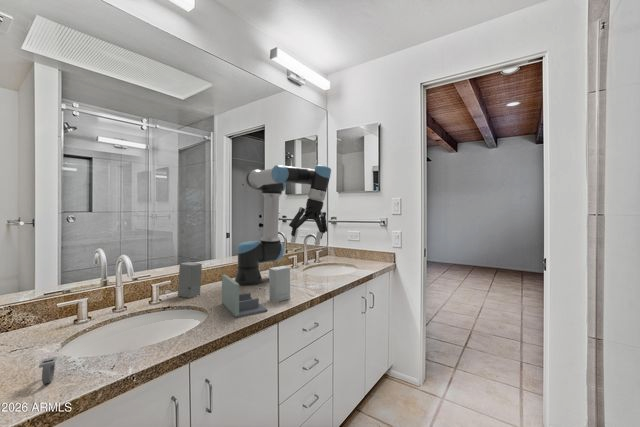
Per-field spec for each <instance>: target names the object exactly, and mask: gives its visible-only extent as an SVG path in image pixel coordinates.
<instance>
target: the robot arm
mask: <svg viewBox="0 0 640 427" xmlns="http://www.w3.org/2000/svg"><path fill="white" fill-rule="evenodd" d="M331 174H332V169H331V167H329V166H325V165H322V164H316V165H315V167H314V168H309V167H298V166H291V165H289V166H288V165H283V164H277V165H274V166H273V167H272V168H266V169H263V170H262V169H253V170H250V171H248V173H246V176H245V182H246V185H247V186H248V187H249V188H251V189H252V190H255V191H261V194H262V195H263V197H264V198H263V199H264V200H263V201H264V203H263V205H264V206H263V234H262V235H263V236H262V237H261V239H260V242H259V241H258V240H250V241H244V242H240V243H239V244H238V246H237V271H236V275H235V278H234V281H236V282H237V283H238V284H239V287H242V286H243V287H248V286H249V287H250V286H256V285H259V284H262V283H263V277H262V275H261V274H262V273H261V271H260V267H259V266H260V264H262V263H270V262H271V263H272V262H273V263H274V262H277V261H278V262H279V261H280V260H281V259H282V258H283V255H284V252H285V247H284V244H283V242H282V241H281V238H280V237H279V209H280V196H282V192H284V191H285V190H286V186H287V184H298V185H299V184H301V185H310V186H309V187H310V188H309V192H308V195H307V197H308V198H307V200H306V207H305V208H304V207H301V206H300V207H299V209H298V211H297V213H296V214H295V215H294V217H293V219H292V220H291V221H290V223H288V224H289V225H288V226H289V227H291V233H290V235H291V239H290V243H291V244H293V245H295V244H296V241H297V237H298V232H299V227H301V226H302V225H303V224H304V223H305V222H306V221H307V220H313V221H315V224H316V226H317V229H318V231H317V232H316V235H315V236H316V237H315V241H314V245H315V246H316V247H319V246H320V243H321V240H322V239H323V235H324V234H325V233H328V225H327V217H326V216H327V212H326V211H323V207H324V201H325V199H326V195H327V190H328V186H329V182H330V179H331Z"/></svg>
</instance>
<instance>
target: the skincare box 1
mask: <svg viewBox="0 0 640 427" xmlns="http://www.w3.org/2000/svg"><path fill="white" fill-rule="evenodd" d="M178 268H179V270H178V285H177V297H178V296H182V297H181V298H185V297H187V299H192V298H191V297H193V298H195V297H194V296H196V297H198V296H197V295H199V296H200V295H201V289H202V288H201V286H202V283H201V282H202V268H203V264H202V263H201V262H200V263H199V262H192V261H187V262H182V263H179V266H178Z"/></svg>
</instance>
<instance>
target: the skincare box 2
mask: <svg viewBox="0 0 640 427" xmlns="http://www.w3.org/2000/svg"><path fill="white" fill-rule="evenodd" d="M268 279H269V280H268V284H269V285H268V287H269V291H268V292H269V300H270V301H272V302H274V303H278V302H281V301H284V300H290V299H291V267H289V266H286V265H280V266H274V267H269V268H268Z"/></svg>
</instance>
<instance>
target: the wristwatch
mask: <svg viewBox="0 0 640 427" xmlns="http://www.w3.org/2000/svg"><path fill="white" fill-rule="evenodd" d="M57 360H58V356H52V357H48V358H44V359H42V360H41V361H40V363H39V365H38V368H39V369H41V370H42V371H41V383H42V384H43V385H46V384H50V383H52V382H53V381H54V380H53V379H54V376H55V368H56V365H55V364H56V362H57Z"/></svg>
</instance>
